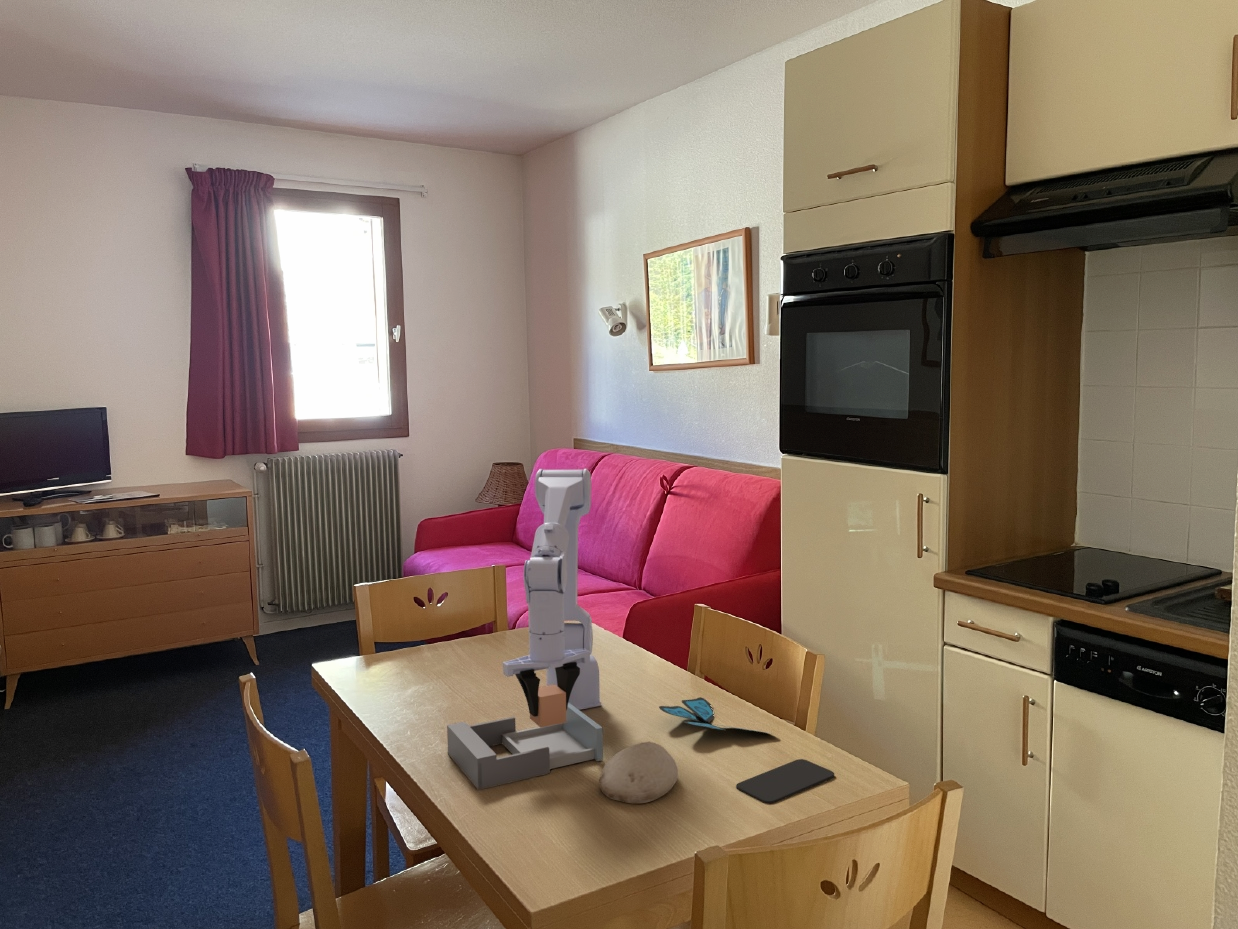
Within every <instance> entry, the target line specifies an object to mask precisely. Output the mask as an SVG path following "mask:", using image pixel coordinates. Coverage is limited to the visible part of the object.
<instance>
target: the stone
mask: <svg viewBox="0 0 1238 929" xmlns="http://www.w3.org/2000/svg"><path fill="white" fill-rule="evenodd" d="M678 778H679V769H678V766H677V763H676V760H675V759H674V757H673V756H672V755H671V754H670V753H669V751H667V750H666V748H665V746H662V745H661V744H659V743H656V742H652V741H645V742H641V743H637V744H634V745H632V746H629V747H627V748H623V749H622V750H619V751H618V752H617V753H615V754H614V755H613V756H611V757H610V758H609V759H608V760H607V761H606V762H605V763H604V765H603V767H602V770H601V772H600V776H599V789H600V791H601V792H602V793H603V794H604V795H605V796H606V797H608V799H611V800H614V801H619V802H623V803H624V804H647V803H649V802H653V801H656V800H657V799H660V798H661V797H663V796H665V795H666V794H667V793H668V792H670V791H671V790H672V788H673V787H674V785H675V784H676V783H677V781H678Z"/></svg>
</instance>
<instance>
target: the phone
mask: <svg viewBox="0 0 1238 929" xmlns="http://www.w3.org/2000/svg"><path fill="white" fill-rule="evenodd" d="M833 779H835V772H834V771H832V770H830V769H829V768H825V767H824V766H821V765H819V764H816V763H815V762H811V761H809V760H807V759H803V758H800V759H796V760H793V761H790V762H788V763H785V764H783V765H780V766H778V767H775V768H773V769H770V770H768V771H765V772H762V773H760V774H758V775H756V776H752V777H750V778H747V779H745V780H743V781H739V782H737V783H736V785H735V788H736V790H737V791H738V792H741V793H743V794H745V795H747V796H749V797H751V798H753V799H755V800H757V801H759V802H760V803H763V804H768V805H772V804H775V803H777V802H780V801H783V800H785V799H787V798H790V797H792V796H796V795H797V794H800V793H801V792H805V791H807V790H809V789H812V788H815V787H817V786H819V785H821V784H824V783H826V782H829V781H831V780H833Z"/></svg>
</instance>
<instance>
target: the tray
mask: <svg viewBox="0 0 1238 929" xmlns="http://www.w3.org/2000/svg"><path fill="white" fill-rule="evenodd" d="M603 730H604V729H603V727H602V726H601V725H600V724H598V723H597V722H596V721H594V720H593V719H592V718H591V717H589V716H587V715H586V714H585V713H584V712H582V711H581V710H578V709H577V708H576V707H574V706H573V705H572V704H570V703H569V702H568V707H567V710H566V723H561V724H556V725H551V726H546V727H541V728H540V727H539V726H537V727H531V728H525V729H522V730H517V731H516V732H511V733H506V734H502V744H501V745H503V747H504V748H506V749H507V750H508V751H509V752H510V753H511V755H513V754H518V753H522V752H527V751H532V750H536V749H541V748H545V747H548V748H549V754H550V770H551V769H556V768H560V767H564V766H565V767H566V766H568V765H569V766H570V765H574V764H579V763H582V762H587V761H590V760H591V761H592V760H595V761H597V762H600V761H603V760H604V743H603V742H604V741H603V740H604V737H603V734H604V733H603V732H604V731H603Z"/></svg>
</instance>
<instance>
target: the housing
mask: <svg viewBox="0 0 1238 929" xmlns="http://www.w3.org/2000/svg"><path fill="white" fill-rule="evenodd" d="M446 732H447V735H446V738H447V754H448V756H450V758H451V759H452V760H453V761H454V763H455V764H456V765H457V766H458V768H459V769H460V770H461V771H462V772H463V773H464V774H465V776H466V777H467V778H468V779H469V780H470V782H471V783H472V784H473V785H474V786H475V789H477V790H478V791H479V790H484V789H487V788H493V787H497V786H500V785H506V784H508V783H513V782H514V783H515V782H517V781H521V780H522V781H523V780H527V779H531V778H535V777H539V776H543V775H549V774H551V773H550V772H551V769H550V754H549V748H548V747H545V748H541V749H536V750H532V751H527V752H522V753H518V754H509V755H505V756H500V757H497V753H495V751H494V750H493V749H492V748H491V747H492V746H497V745H503V744H502V734H506V733H511V732H516V717H515V716H512V717H511V716H510V717H506V718H500V719H495V720H491V721H486V722H479V723H474V724H470V725H468V723H467V722H466V721H460V722H457V723H456V722H455V723H451V724H450V723H449V724H447V725H446ZM548 773H549V774H548Z"/></svg>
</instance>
